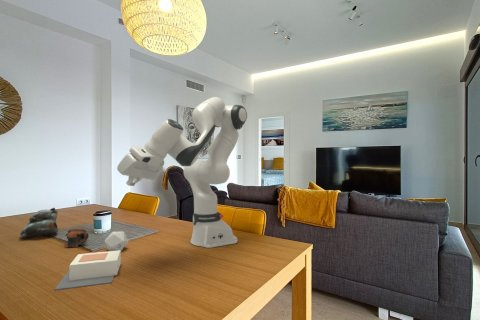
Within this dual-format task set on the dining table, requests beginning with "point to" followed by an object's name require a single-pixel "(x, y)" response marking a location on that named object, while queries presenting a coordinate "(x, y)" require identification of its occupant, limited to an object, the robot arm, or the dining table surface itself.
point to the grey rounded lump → (41, 224)
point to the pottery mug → (76, 237)
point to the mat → (82, 282)
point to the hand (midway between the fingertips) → (129, 184)
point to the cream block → (95, 265)
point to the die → (116, 241)
